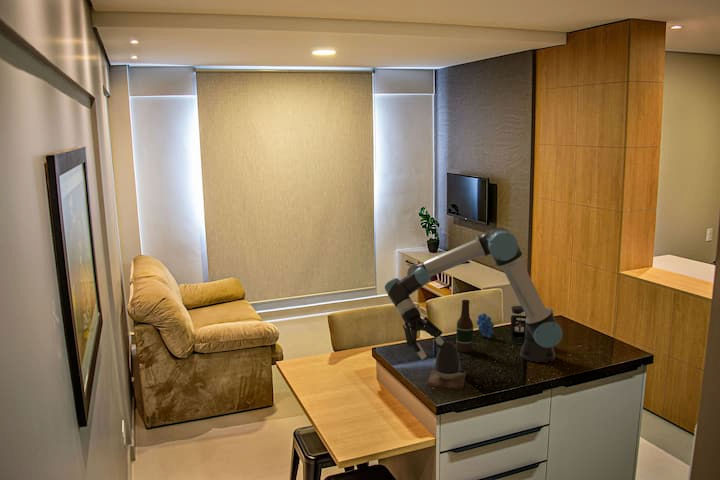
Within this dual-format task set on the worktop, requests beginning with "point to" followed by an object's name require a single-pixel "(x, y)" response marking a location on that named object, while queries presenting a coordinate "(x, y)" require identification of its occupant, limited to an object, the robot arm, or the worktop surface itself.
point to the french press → (517, 330)
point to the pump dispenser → (447, 361)
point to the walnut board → (446, 381)
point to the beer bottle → (464, 330)
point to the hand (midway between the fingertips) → (435, 354)
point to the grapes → (485, 325)
